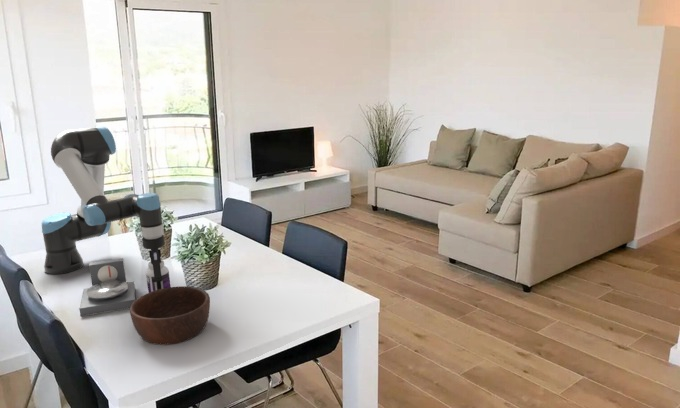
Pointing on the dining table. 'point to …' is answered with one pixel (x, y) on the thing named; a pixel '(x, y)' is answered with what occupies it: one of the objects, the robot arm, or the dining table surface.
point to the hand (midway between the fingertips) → (159, 290)
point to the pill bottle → (163, 273)
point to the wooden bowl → (170, 314)
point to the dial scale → (103, 273)
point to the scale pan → (107, 289)
